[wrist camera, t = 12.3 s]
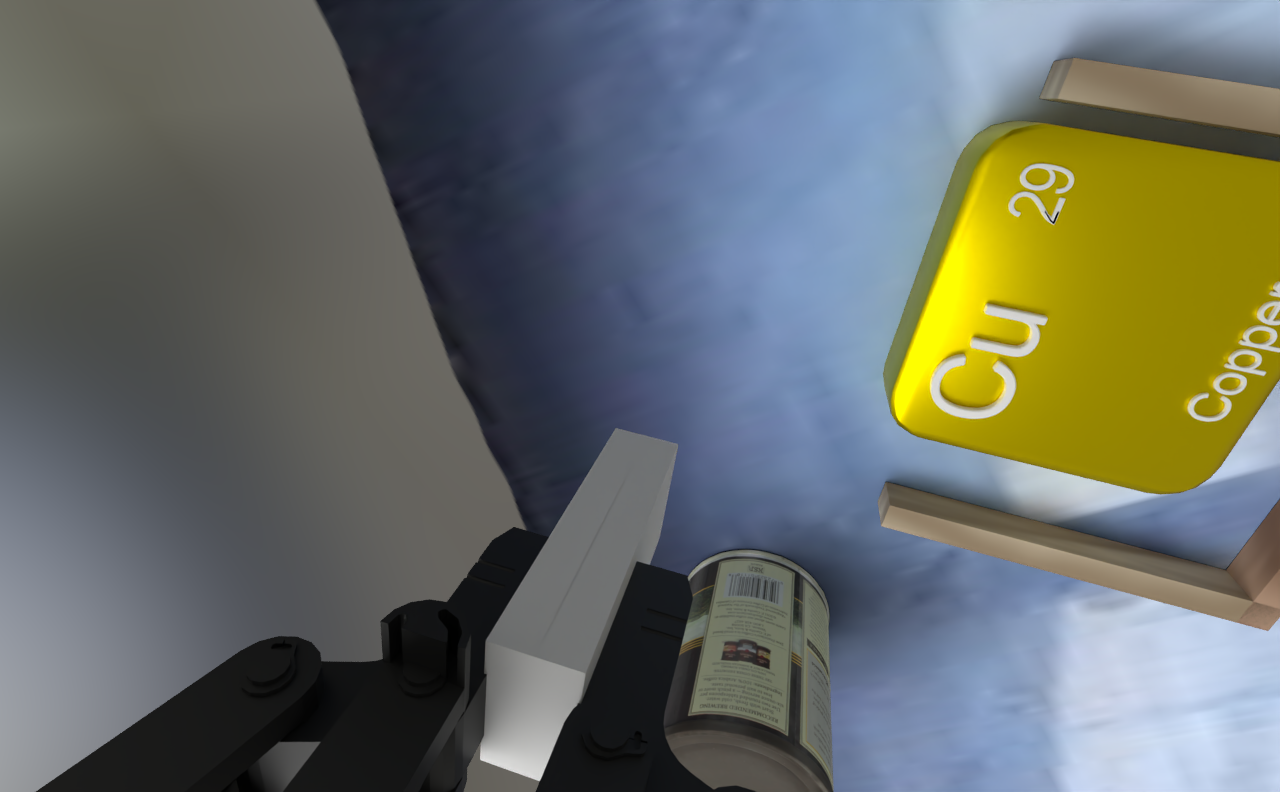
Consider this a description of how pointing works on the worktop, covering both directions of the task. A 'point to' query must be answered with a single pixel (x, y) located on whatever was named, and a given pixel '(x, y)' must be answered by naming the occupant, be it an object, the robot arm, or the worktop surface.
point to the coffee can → (754, 677)
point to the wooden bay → (1244, 593)
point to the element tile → (1094, 306)
